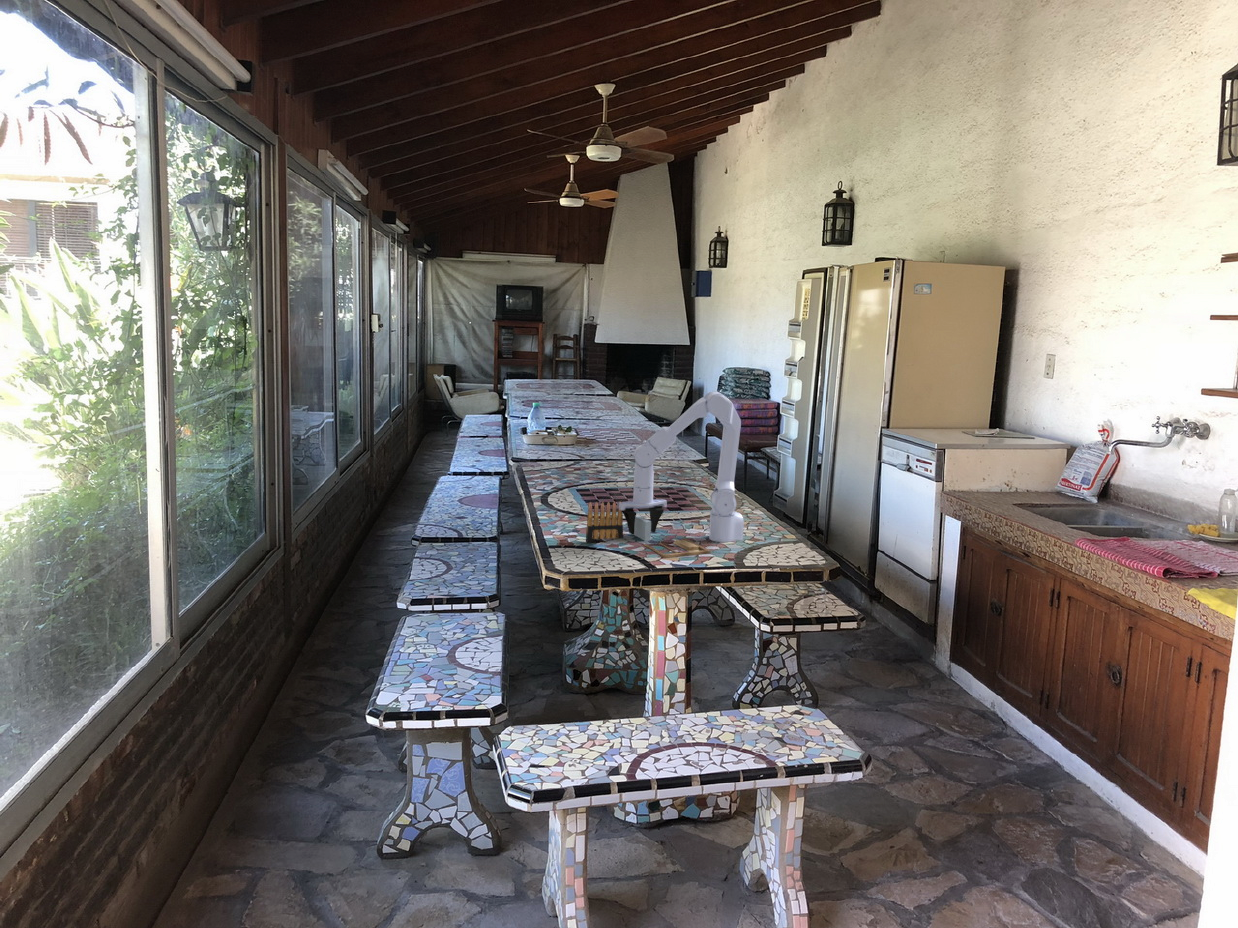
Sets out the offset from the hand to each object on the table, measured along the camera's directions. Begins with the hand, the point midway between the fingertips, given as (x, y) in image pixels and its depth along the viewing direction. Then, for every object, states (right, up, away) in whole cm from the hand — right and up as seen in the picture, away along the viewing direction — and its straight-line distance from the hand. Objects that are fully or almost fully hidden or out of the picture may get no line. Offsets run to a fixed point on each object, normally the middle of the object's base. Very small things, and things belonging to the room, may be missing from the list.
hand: (642, 532), depth 251 cm
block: (0, -3, 0) cm, 3 cm away
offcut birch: (+12, -4, -9) cm, 16 cm away
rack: (+9, -5, -11) cm, 15 cm away
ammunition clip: (-11, -3, -1) cm, 11 cm away
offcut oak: (+12, -3, -9) cm, 15 cm away
